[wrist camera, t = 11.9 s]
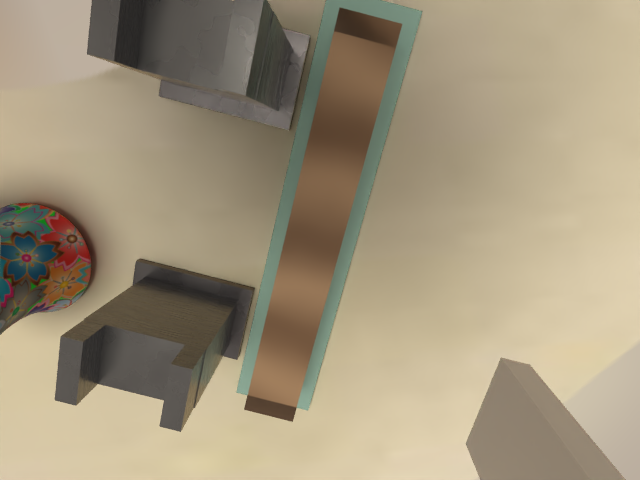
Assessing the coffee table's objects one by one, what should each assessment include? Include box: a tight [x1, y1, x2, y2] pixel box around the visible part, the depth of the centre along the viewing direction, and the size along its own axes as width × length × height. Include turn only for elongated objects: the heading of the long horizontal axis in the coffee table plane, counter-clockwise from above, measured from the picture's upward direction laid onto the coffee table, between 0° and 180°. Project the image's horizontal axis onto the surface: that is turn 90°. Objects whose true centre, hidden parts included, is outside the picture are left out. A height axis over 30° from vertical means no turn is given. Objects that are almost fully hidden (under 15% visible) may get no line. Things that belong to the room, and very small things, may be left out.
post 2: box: [55, 259, 254, 432], centre depth 26 cm, size 6×9×10 cm, turn 76°
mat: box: [237, 0, 422, 410], centre depth 28 cm, size 30×6×1 cm, turn 166°
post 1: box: [87, 0, 310, 130], centre depth 21 cm, size 6×9×10 cm, turn 76°
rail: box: [244, 7, 402, 422], centre depth 26 cm, size 26×4×4 cm, turn 166°
